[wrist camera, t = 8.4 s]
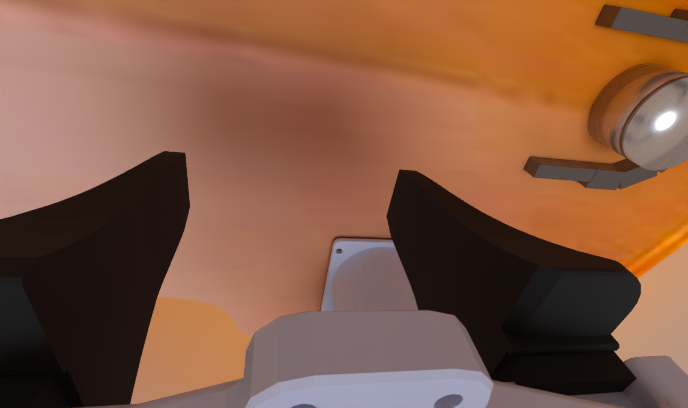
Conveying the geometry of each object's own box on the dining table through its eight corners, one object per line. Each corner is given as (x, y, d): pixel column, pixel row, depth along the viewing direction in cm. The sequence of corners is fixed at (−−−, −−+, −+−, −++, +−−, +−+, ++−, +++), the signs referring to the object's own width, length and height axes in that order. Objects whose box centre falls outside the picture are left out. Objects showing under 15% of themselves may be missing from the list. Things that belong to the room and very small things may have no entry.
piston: (635, 146, 26) (686, 173, 23) (572, 140, 25) (616, 167, 22) (686, 69, 23) (753, 86, 20) (617, 58, 22) (675, 75, 19)
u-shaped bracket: (649, 185, 28) (662, 193, 27) (521, 175, 26) (530, 183, 25) (764, 28, 22) (786, 31, 21) (610, -6, 20) (627, -4, 19)
